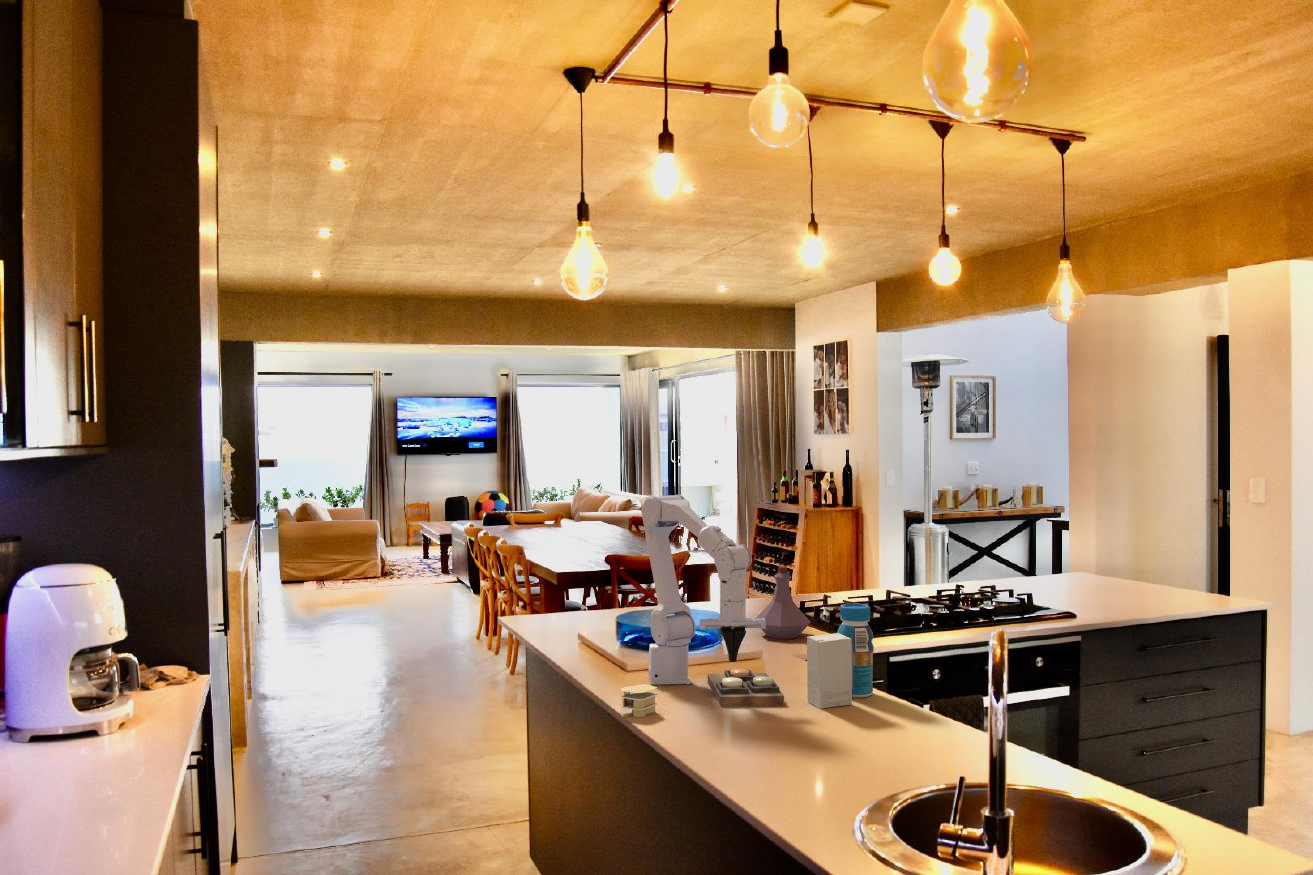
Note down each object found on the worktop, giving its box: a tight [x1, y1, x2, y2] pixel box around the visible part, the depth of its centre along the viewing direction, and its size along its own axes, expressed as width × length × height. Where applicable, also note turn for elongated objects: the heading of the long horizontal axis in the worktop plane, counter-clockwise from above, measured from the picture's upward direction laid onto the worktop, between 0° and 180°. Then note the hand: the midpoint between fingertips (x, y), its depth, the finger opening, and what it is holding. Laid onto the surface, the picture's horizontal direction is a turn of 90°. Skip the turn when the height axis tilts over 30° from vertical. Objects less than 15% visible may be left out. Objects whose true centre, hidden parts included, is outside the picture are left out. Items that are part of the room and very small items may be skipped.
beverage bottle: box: [836, 602, 875, 699], centre depth 223 cm, size 8×8×20 cm
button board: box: [707, 669, 785, 707], centre depth 223 cm, size 14×20×3 cm
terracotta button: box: [730, 668, 749, 676], centre depth 229 cm, size 4×4×1 cm
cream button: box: [722, 677, 742, 688], centre depth 218 cm, size 4×4×1 cm
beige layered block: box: [620, 683, 658, 718], centre depth 207 cm, size 10×9×6 cm
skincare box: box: [806, 632, 853, 710], centre depth 215 cm, size 8×6×15 cm
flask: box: [755, 565, 812, 640], centre depth 286 cm, size 16×16×20 cm
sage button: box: [753, 676, 774, 687], centre depth 220 cm, size 4×4×1 cm
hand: (732, 660), depth 218 cm, fingers closed
